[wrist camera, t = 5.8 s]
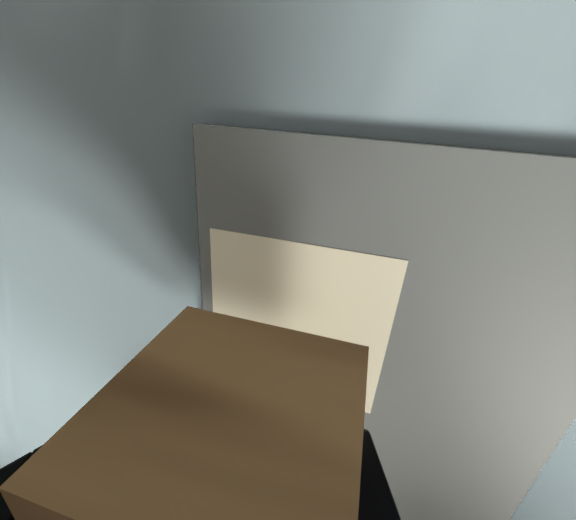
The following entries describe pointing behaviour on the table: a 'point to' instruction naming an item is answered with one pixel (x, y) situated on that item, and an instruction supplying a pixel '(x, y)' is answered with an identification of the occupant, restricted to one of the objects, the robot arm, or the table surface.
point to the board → (410, 293)
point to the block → (210, 431)
